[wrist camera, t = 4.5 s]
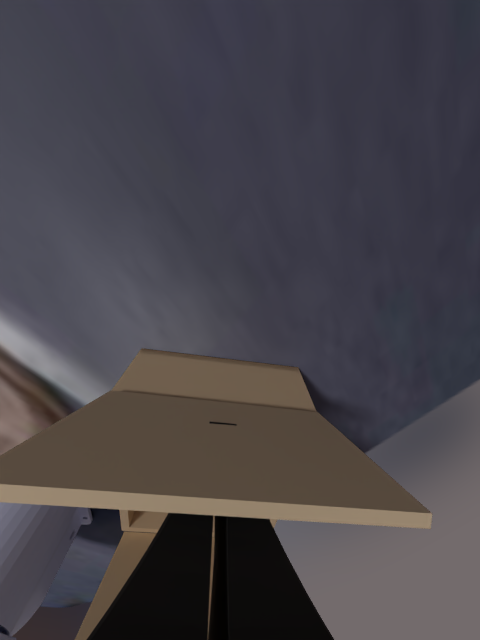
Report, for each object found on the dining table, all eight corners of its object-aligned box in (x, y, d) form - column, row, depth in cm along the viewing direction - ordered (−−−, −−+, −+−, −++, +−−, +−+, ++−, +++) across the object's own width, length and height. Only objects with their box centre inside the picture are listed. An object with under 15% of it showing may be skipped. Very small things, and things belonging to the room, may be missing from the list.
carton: (262, 476, 23) (269, 539, 19) (145, 466, 22) (121, 530, 18) (298, 367, 17) (320, 420, 13) (141, 348, 16) (105, 398, 12)
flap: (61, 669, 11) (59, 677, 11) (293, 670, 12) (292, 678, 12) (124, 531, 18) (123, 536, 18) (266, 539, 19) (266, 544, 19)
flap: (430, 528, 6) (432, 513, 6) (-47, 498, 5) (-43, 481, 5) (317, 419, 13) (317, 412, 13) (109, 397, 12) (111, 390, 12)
